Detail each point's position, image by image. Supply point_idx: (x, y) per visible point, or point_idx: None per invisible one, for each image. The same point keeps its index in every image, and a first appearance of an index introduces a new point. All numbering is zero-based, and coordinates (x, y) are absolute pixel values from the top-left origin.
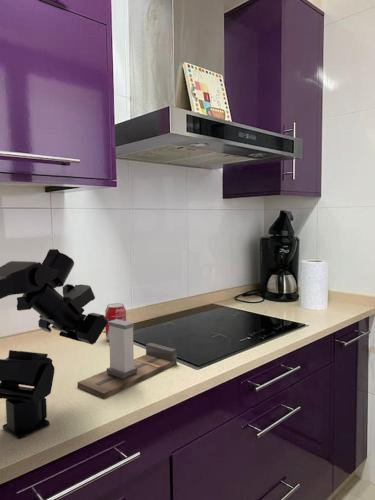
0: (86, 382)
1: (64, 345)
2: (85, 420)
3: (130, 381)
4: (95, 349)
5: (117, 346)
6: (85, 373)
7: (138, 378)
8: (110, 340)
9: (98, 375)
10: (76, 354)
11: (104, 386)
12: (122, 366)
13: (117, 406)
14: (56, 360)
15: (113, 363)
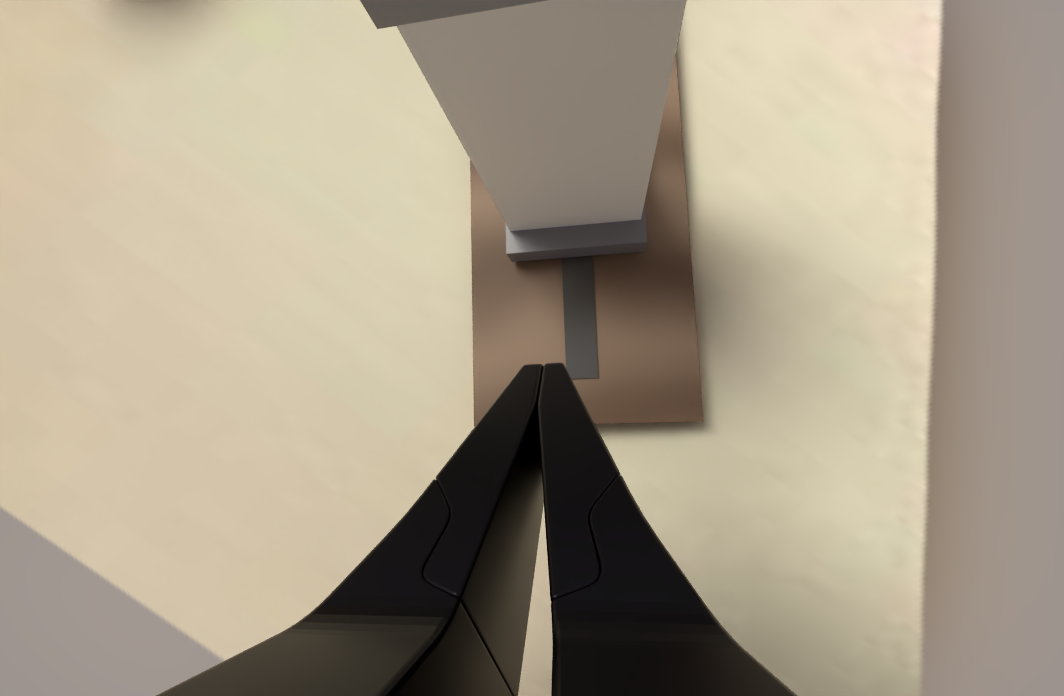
0: None
1: (15, 168)
2: (822, 625)
3: (688, 235)
4: (176, 91)
5: (566, 144)
6: (379, 302)
7: (684, 179)
8: (470, 134)
9: (490, 302)
10: (153, 194)
11: (632, 367)
12: (619, 207)
13: (823, 432)
14: (137, 304)
15: (536, 216)
